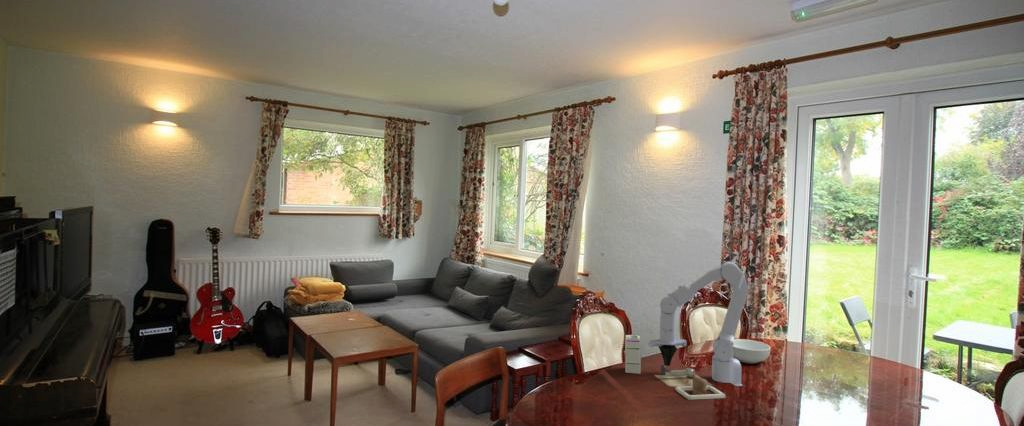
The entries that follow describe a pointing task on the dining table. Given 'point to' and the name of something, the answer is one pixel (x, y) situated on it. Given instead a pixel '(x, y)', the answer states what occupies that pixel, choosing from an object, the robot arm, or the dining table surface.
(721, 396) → the tray
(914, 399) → the dining table surface
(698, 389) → the cylinder
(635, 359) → the syrup box
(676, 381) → the crank board
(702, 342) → the dining table surface
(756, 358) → the cereal bowl
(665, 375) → the crank lever
